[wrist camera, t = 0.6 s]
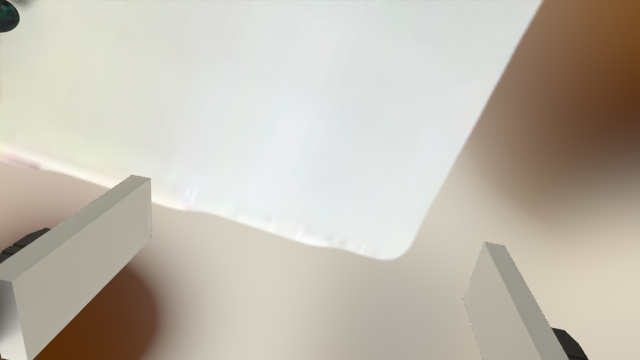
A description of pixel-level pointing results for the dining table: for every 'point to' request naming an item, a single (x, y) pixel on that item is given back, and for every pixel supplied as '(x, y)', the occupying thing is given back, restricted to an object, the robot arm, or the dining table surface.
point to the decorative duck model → (8, 16)
